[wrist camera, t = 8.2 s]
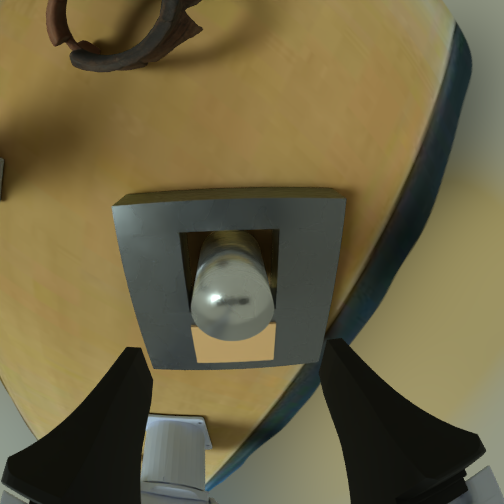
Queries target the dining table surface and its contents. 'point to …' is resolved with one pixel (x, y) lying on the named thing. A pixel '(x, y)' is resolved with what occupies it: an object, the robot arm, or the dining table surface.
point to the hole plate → (282, 271)
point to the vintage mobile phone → (1, 173)
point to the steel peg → (231, 287)
